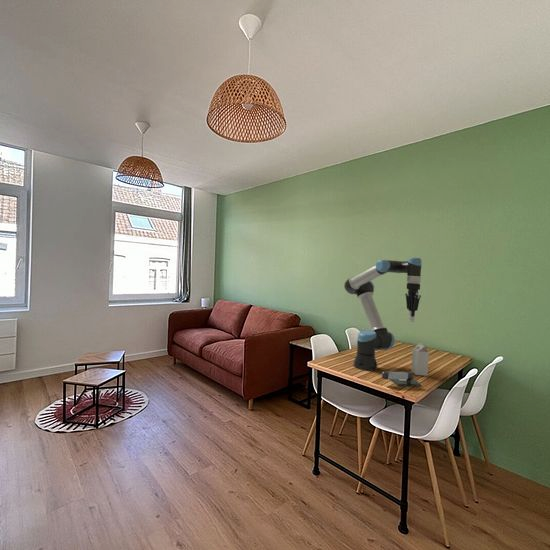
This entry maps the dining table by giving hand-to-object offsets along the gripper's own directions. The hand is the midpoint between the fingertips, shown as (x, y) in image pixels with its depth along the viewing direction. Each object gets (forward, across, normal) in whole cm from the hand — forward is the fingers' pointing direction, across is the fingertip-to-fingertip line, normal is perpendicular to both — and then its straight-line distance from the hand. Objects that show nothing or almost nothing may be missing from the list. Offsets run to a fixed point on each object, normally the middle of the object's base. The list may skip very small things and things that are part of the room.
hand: (411, 321), depth 178 cm
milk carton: (+34, -6, +11) cm, 37 cm away
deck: (+34, +6, -8) cm, 36 cm away
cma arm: (+30, +13, -14) cm, 36 cm away
